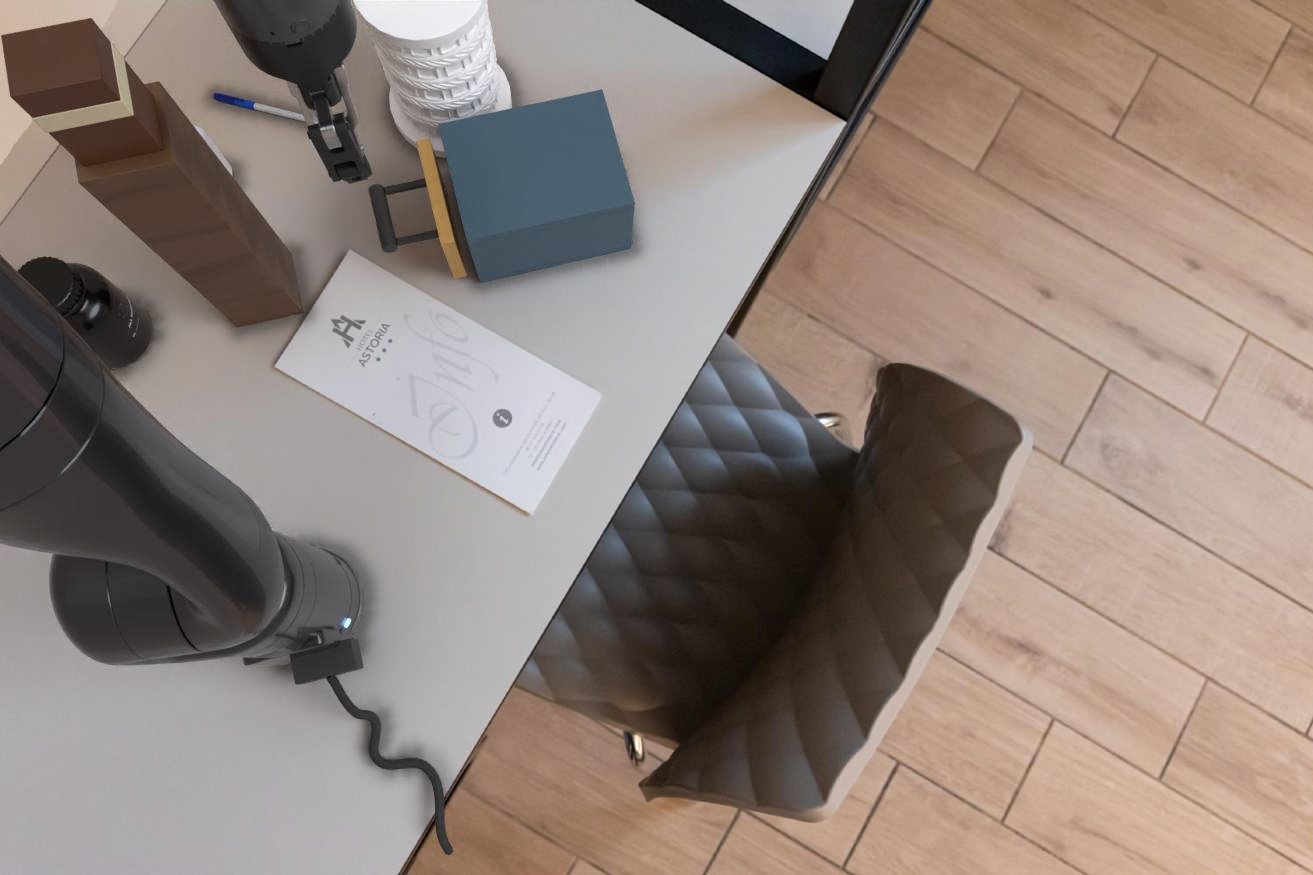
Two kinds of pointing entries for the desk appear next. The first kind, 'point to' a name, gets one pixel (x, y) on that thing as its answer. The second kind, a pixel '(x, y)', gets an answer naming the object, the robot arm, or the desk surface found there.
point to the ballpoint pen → (258, 106)
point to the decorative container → (436, 63)
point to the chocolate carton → (81, 91)
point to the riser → (199, 220)
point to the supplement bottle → (93, 308)
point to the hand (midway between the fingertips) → (345, 126)
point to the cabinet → (539, 185)
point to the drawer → (439, 207)
